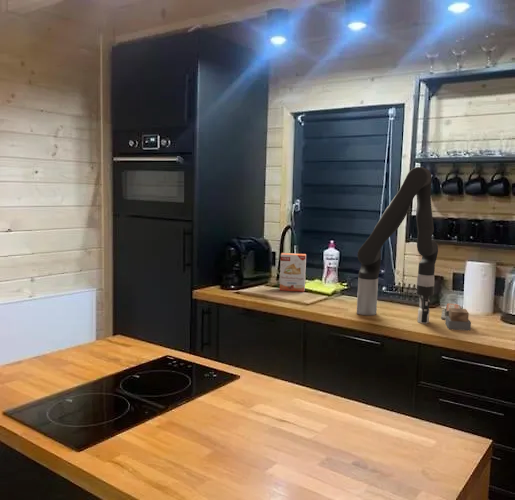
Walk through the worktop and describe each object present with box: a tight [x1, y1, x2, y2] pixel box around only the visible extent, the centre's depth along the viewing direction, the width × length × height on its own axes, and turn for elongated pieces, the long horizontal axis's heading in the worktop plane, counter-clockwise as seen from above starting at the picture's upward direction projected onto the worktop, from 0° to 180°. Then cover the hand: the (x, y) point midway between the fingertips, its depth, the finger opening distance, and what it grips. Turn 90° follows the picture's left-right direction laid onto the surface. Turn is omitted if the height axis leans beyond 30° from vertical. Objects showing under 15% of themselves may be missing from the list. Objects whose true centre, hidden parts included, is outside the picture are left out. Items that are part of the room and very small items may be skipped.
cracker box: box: [279, 252, 307, 293], centre depth 311 cm, size 14×6×21 cm, turn 81°
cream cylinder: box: [416, 307, 431, 325], centre depth 251 cm, size 5×5×6 cm
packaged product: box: [440, 302, 462, 321], centre depth 264 cm, size 18×5×10 cm
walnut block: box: [449, 308, 470, 322], centre depth 244 cm, size 7×7×4 cm
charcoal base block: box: [445, 316, 472, 331], centre depth 245 cm, size 9×9×4 cm
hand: (423, 320), depth 252 cm, fingers open, 6 cm apart
